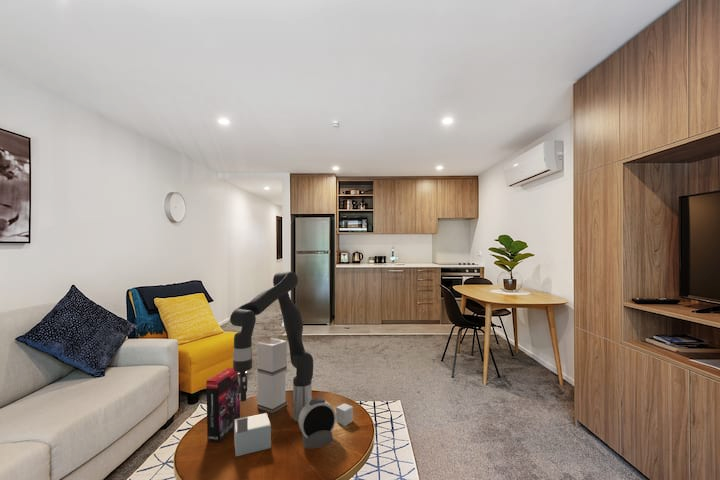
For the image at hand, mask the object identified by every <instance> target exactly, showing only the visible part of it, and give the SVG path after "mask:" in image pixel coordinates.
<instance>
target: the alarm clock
mask: <svg viewBox="0 0 720 480" xmlns="http://www.w3.org/2000/svg"><path fill="white" fill-rule="evenodd" d="M312 399H313V400H311V401H310V402H309V403H307V404H306V405H305V406H304V407H303V409H302V410H301V412H300V415H299V420H298V421H297V422H298V427H299V430H300V431H301V434H302V437H301V442H302V444H303V446H304V447H305V449H306V450H311V449H312V450H313V449H319V448H322V447H325V446H327V445H330V444H332V443H333V442H334V437H333V433H332V431H333V430H334V428H335V426H336V423H337V422H336V411H335V409H334V408H333V407H332V406H331V404H330V403H329V402H328V401H327V400H325V399H324V398H323V397H316V398H312Z"/></svg>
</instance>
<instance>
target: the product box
mask: <svg viewBox="0 0 720 480" xmlns="http://www.w3.org/2000/svg"><path fill="white" fill-rule="evenodd" d="M335 413H336V423H337V424H340V425H341V426H344V427H346V426H348V425H349V424H351V423H352V422H354V407H353V406H352V405H350V404H347V403H342V404H341V405H338V406H336V411H335Z"/></svg>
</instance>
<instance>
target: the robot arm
mask: <svg viewBox="0 0 720 480" xmlns="http://www.w3.org/2000/svg"><path fill="white" fill-rule="evenodd" d="M298 278H299V277H298V275H297V274H296V272H294V271H281V272H276V273H275V274H274V275H273V279H272V284H273V286H272V287H270V288H269V289H266V290H264V291H262V292H260V293H258V295H256V296H255V297H254V298H252V299H251V300H250V301H249V302H247V303H244V304H242V305H240V306H239V307H237V308H235V309H234V310H233V311H232V312H231V314H230V317H229V322H230V323H231V325H232V326H235V327H239V328H240V327H241V330H240V331H239V332H236V333H235V334H234V338H233V353H232V358H233V359H232V368H233V370H234V371H237V372H238V373H237V377H238V381H239V382H238V383H239V393H240V403H241V402H246V401H247V392H248V385H249V383H248V382H249V381H248V379H249V373H248V371H250V370H251V369H252V368H253V348H252V343H253V342H252V340H253V339H252V337H253V332H254V328H255V325H256V321H257V318H256V317H257V316H259V315H260V314H262V313H263V312H264V311H265V310H266V309H267V308H269V307H270V305H272V304H273V303H275V302H276V301H277V300H278V303H279V307H280V311H281V315H282V322H283V325H284V329H285V334H286V335H285V336H286V338H287V343H288V347H289V357H290V362H291V365H292V366H293V367H294V368H295V369H296V371H295V373H296V374H295V376H294V377H293V381H292V389H293V390H292V391H293V392H292V393H293V394H292V397H293V398H292V401H293V402H292V403H293V404H292V405H293V406H292V408H293V410H292V416H293V421H294V422H298V420H299V415H300V412H301V410H302V409H303V407H304V406H305V405H306V404H307V403H309V402H310V401H311V400H313V399H314V398H313V397H312V392H313V390H312V379H313V376H314V358H313V356H312V354H311V353H309V352H307V351H306V350H305V347H304V343H303V342H304V341H303V331H304V323H303V318H302V314H301V310H299V308H298V306H297V305H296V304H295V303H294V302H293V300H292V298H291V297H290V293H289V292H290V291H292V290H294V289H295V288H296V287H297V285H298V282H299V279H298Z"/></svg>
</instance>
